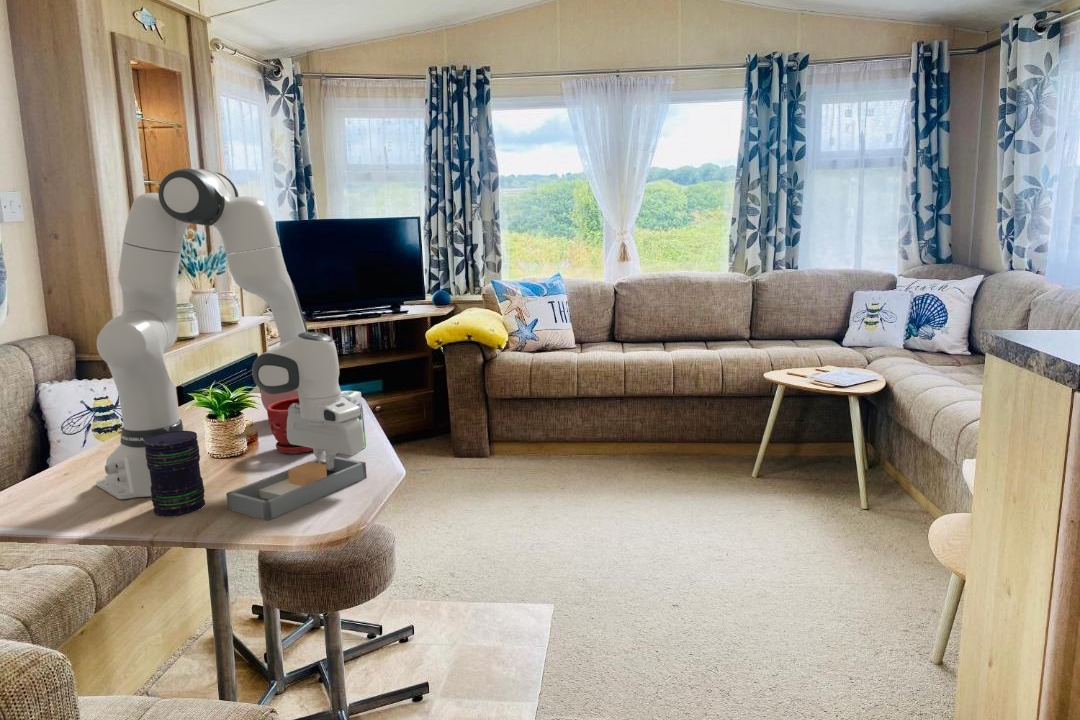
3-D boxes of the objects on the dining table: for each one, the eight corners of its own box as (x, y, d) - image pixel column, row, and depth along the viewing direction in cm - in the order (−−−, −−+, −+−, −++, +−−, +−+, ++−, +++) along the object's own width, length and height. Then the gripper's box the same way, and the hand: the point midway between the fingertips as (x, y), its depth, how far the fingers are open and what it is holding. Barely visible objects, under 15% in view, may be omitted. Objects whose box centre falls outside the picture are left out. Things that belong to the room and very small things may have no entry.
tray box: (228, 509, 159) (226, 493, 158) (328, 469, 181) (327, 454, 181) (267, 520, 153) (266, 503, 152) (366, 477, 175) (365, 462, 174)
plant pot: (309, 437, 207) (305, 393, 205) (335, 447, 198) (331, 401, 195) (262, 449, 198) (257, 403, 196) (287, 460, 189) (282, 412, 186)
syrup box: (356, 454, 192) (352, 396, 189) (334, 453, 193) (329, 395, 190) (366, 446, 197) (362, 390, 195) (344, 446, 199) (339, 390, 196)
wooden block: (289, 483, 167) (287, 469, 167) (310, 474, 172) (309, 461, 172) (305, 486, 165) (304, 473, 164) (327, 477, 170) (325, 464, 169)
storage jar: (173, 498, 167) (164, 430, 164) (215, 499, 165) (207, 430, 162) (142, 516, 157) (132, 444, 154) (187, 518, 155) (177, 445, 152)
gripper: (276, 405, 173) (282, 465, 176) (344, 416, 162) (349, 479, 165) (299, 398, 178) (304, 457, 181) (365, 408, 168) (370, 470, 170)
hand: (326, 468), depth 173 cm, fingers closed
